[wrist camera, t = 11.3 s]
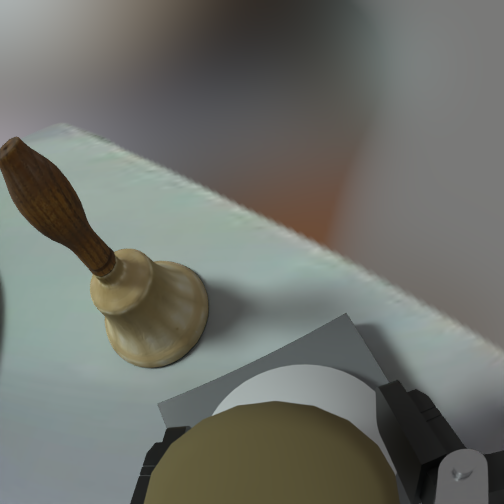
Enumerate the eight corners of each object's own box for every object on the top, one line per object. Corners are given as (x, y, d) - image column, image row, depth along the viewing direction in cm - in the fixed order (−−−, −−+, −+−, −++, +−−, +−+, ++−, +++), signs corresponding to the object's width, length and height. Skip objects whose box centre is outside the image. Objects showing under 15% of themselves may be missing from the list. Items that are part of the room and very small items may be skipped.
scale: (252, 563, 12) (241, 585, 9) (173, 407, 19) (149, 401, 16) (435, 474, 14) (458, 480, 11) (347, 323, 20) (354, 302, 17)
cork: (359, 491, 12) (496, 514, 3) (254, 557, 10) (223, 681, 1) (287, 404, 15) (312, 301, 6) (185, 465, 13) (47, 452, 4)
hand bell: (130, 256, 26) (13, 102, 12) (223, 270, 23) (127, 68, 10) (93, 349, 22) (-80, 233, 8) (189, 382, 20) (-11, 261, 6)
